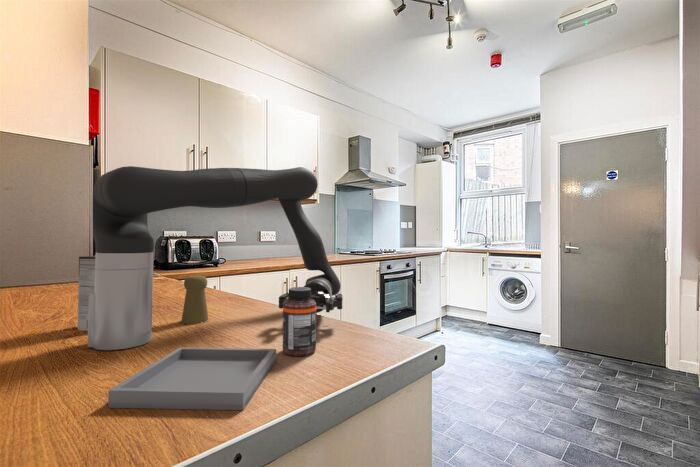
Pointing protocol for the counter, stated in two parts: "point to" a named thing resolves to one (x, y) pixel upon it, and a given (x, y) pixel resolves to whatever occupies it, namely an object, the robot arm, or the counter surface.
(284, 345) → the supplement bottle
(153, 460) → the counter surface
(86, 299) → the coffee box
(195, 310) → the cork
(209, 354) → the tray
